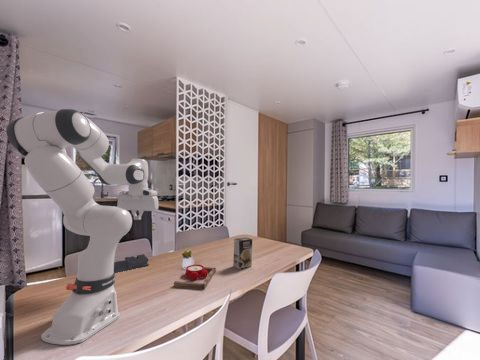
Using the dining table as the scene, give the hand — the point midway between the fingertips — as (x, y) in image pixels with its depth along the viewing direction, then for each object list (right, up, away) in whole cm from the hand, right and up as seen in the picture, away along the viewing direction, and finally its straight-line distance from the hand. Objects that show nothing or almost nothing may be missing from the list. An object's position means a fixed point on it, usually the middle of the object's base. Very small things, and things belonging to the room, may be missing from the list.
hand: (137, 219), depth 116 cm
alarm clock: (+28, -30, +5) cm, 42 cm away
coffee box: (+52, -31, +21) cm, 64 cm away
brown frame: (+28, -30, +2) cm, 41 cm away
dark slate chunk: (-13, -30, +17) cm, 37 cm away
